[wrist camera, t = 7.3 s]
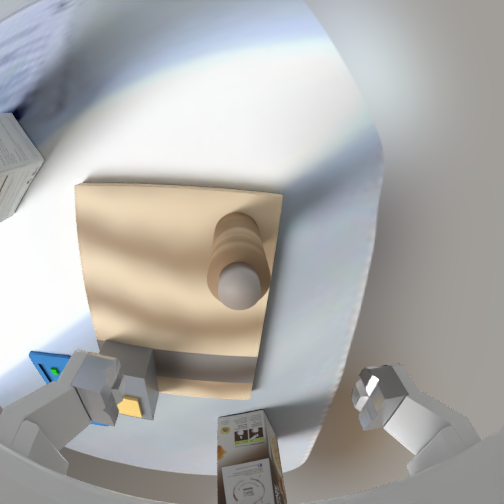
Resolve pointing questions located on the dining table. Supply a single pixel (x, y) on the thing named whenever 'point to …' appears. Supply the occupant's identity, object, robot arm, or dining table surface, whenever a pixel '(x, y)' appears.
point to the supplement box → (15, 164)
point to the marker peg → (238, 263)
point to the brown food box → (248, 461)
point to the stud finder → (135, 378)
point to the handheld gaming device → (51, 367)
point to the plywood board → (172, 280)
